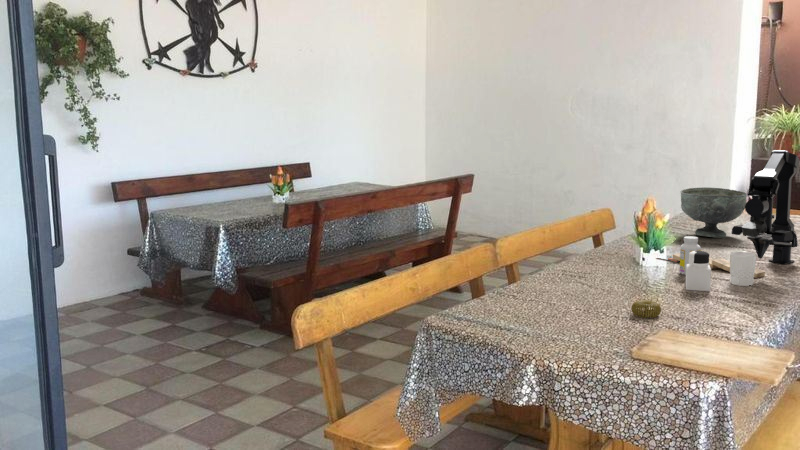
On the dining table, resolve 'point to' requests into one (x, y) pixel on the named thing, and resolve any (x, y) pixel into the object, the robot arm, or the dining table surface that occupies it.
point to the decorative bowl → (712, 207)
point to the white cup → (742, 268)
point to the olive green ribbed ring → (646, 313)
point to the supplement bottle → (687, 251)
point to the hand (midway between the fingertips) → (760, 257)
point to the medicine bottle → (698, 271)
